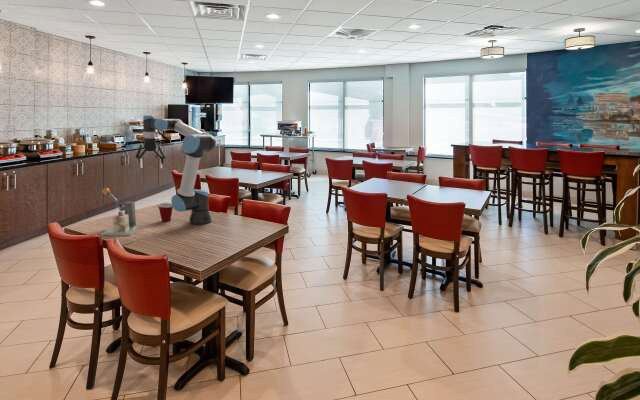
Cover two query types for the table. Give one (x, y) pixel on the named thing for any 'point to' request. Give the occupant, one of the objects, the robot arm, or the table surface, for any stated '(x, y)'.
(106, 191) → the press lever
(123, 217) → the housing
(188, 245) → the table surface
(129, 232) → the press
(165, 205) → the plastic cup
